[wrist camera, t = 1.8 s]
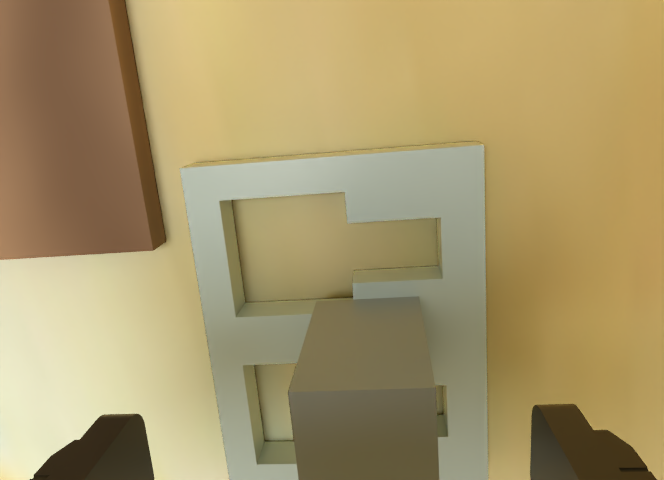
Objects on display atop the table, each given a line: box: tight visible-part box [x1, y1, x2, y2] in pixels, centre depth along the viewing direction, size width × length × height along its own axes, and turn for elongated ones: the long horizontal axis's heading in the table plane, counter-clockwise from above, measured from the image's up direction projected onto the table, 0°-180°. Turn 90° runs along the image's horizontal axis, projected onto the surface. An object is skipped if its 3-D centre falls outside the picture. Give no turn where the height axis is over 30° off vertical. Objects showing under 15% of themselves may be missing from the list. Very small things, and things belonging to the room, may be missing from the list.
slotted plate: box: [180, 141, 488, 480], centre depth 14 cm, size 8×11×6 cm
